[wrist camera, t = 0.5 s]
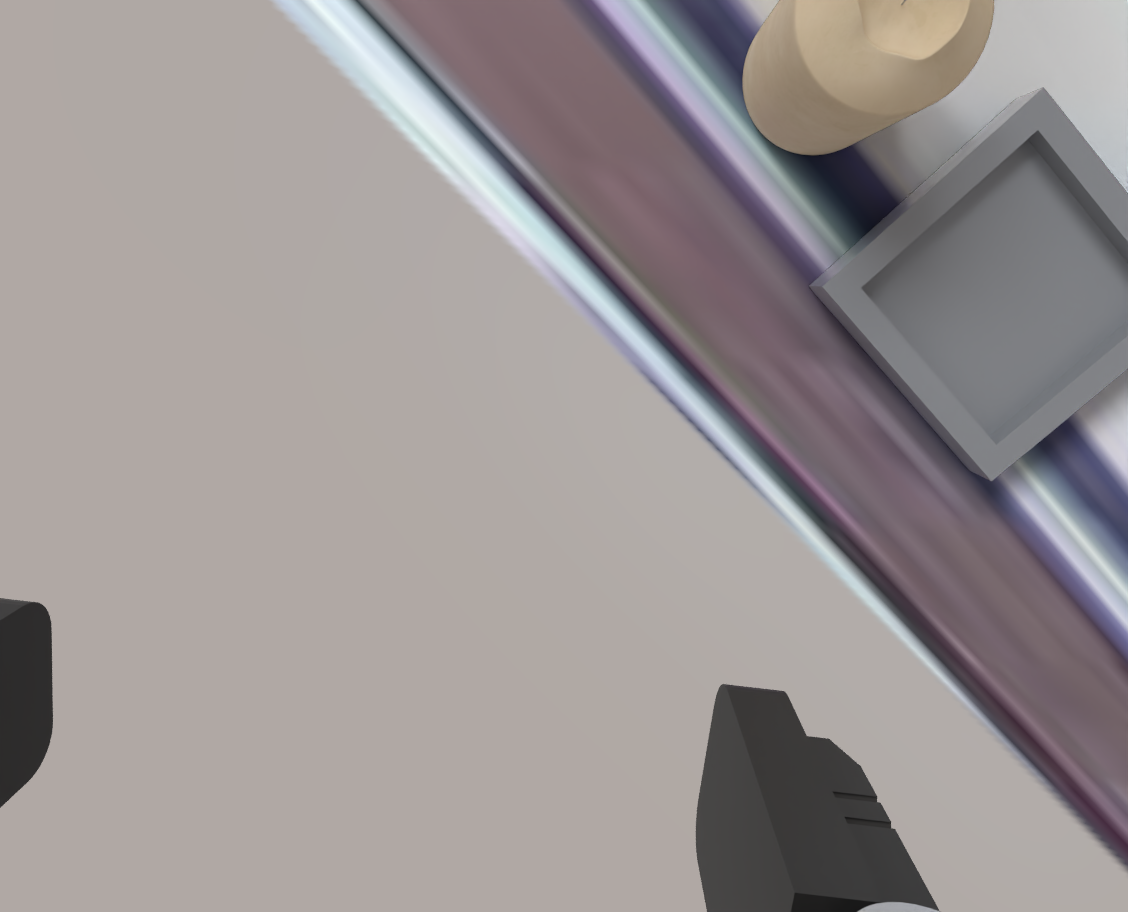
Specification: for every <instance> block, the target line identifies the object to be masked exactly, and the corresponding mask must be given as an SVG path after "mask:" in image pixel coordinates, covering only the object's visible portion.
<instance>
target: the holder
mask: <svg viewBox="0 0 1128 912" xmlns="http://www.w3.org/2000/svg"><path fill="white" fill-rule="evenodd" d="M809 287H810V288H811V290H812V291H813V292H814V293H815V294H816V295H817V296H818V298H819V299H820V300H821V301H822V302H823V303H824V305H825V306H826V307H827V308H828V309H829V310H830V311H831V313H832V314H833V315H834V316H835V317H836V318H837V319H838V321H839V322H840V323H841V324H842V325H843V326H844V327H845V329H846V330H847V331H848V332H849V333H850V334H851V335H852V337H853V338H854V339H855V340H856V341H857V342H858V343H859V345H860V346H861V347H862V348H863V349H864V350H865V351H866V353H867V354H868V355H869V356H870V357H871V358H872V360H873V361H874V362H875V363H876V364H877V365H878V366H879V368H880V369H881V370H882V371H883V372H884V373H885V374H886V376H887V377H888V378H889V379H890V380H891V381H892V382H893V384H894V385H895V386H896V387H897V388H898V389H899V390H900V392H901V393H902V394H903V395H904V396H905V397H906V398H907V400H908V401H909V402H910V403H911V404H912V405H913V407H914V408H915V409H916V410H917V411H918V412H919V413H920V415H921V416H922V417H923V418H924V419H925V420H926V421H927V423H928V424H929V425H930V426H931V427H932V428H933V429H934V431H935V432H936V433H937V434H938V435H939V436H940V437H941V439H942V440H943V441H944V442H945V443H946V444H947V445H948V447H949V448H950V449H951V450H952V451H953V452H954V453H955V455H956V456H957V457H958V458H959V459H960V460H961V462H962V463H963V464H964V465H965V466H966V467H967V468H968V470H970V471H972V472H974V473H976V474H978V475H980V476H982V477H984V478H986V479H988V480H990V481H993V480H994V479H995V478H996V477H998V476H999V475H1000V474H1001V473H1002V472H1004V471H1005V470H1006V469H1007V468H1008V467H1010V466H1011V465H1012V464H1013V463H1014V462H1016V461H1017V460H1018V459H1019V458H1020V457H1022V456H1023V455H1024V454H1025V453H1027V452H1028V451H1029V450H1030V449H1031V448H1033V447H1034V446H1035V445H1036V444H1037V443H1039V442H1040V441H1041V440H1042V439H1043V438H1045V437H1046V436H1047V435H1048V434H1050V433H1051V432H1052V431H1053V430H1054V429H1056V428H1057V427H1058V426H1059V425H1060V424H1062V423H1063V422H1064V421H1065V420H1066V419H1068V418H1069V417H1070V416H1071V415H1073V414H1074V413H1075V412H1076V411H1077V410H1079V409H1080V408H1081V407H1082V406H1083V405H1085V404H1086V403H1087V402H1088V401H1089V400H1091V399H1092V398H1093V397H1094V396H1096V395H1097V394H1098V393H1099V392H1100V391H1102V390H1103V389H1104V388H1105V387H1106V386H1108V385H1109V384H1110V383H1111V382H1112V381H1114V380H1115V379H1116V378H1117V377H1119V376H1120V375H1121V374H1122V373H1123V372H1125V371H1126V370H1127V369H1128V193H1127V192H1126V190H1125V189H1124V188H1123V187H1122V185H1121V184H1120V183H1119V182H1118V180H1117V179H1116V178H1115V177H1114V175H1113V174H1112V173H1111V172H1110V170H1109V169H1108V168H1107V167H1106V165H1105V164H1104V163H1103V161H1102V160H1101V159H1100V158H1099V156H1098V155H1097V154H1096V153H1095V151H1094V150H1093V149H1092V148H1091V146H1090V145H1089V144H1088V143H1087V141H1086V140H1085V139H1084V138H1083V136H1082V135H1081V134H1080V133H1079V131H1078V130H1077V129H1076V128H1075V126H1074V125H1073V124H1072V122H1071V121H1070V120H1069V119H1068V117H1067V116H1066V115H1065V114H1064V112H1063V111H1062V110H1061V109H1060V107H1059V106H1058V105H1057V104H1056V102H1055V101H1054V100H1053V99H1052V97H1051V96H1050V95H1049V94H1048V92H1047V91H1046V90H1045V89H1044V87H1043V88H1041V89H1038V90H1036V91H1033V92H1031V93H1029V94H1026V95H1024V96H1021V97H1019V98H1017V99H1015V100H1014V101H1013V102H1012V103H1011V104H1010V105H1009V106H1007V107H1006V108H1005V109H1004V110H1003V111H1002V112H1001V113H1000V114H999V115H997V116H996V117H995V118H994V119H993V120H992V121H991V122H990V123H989V124H987V125H986V126H985V127H984V128H983V129H982V130H981V131H980V132H979V133H978V134H976V135H975V136H974V137H973V138H972V139H971V140H970V141H969V142H968V143H966V144H965V145H964V146H963V147H962V148H961V149H960V150H959V151H958V152H956V153H955V154H954V155H953V156H952V157H951V158H950V159H949V160H948V161H947V162H945V163H944V164H943V165H942V166H941V167H940V168H939V169H938V170H937V171H935V172H934V173H933V174H932V175H931V176H930V177H929V178H928V179H927V180H926V181H924V182H923V183H922V184H921V185H920V186H919V187H918V188H917V189H916V190H914V191H913V192H912V193H911V194H910V195H909V196H908V197H907V198H906V199H904V200H903V201H902V202H901V203H900V204H899V205H898V206H897V207H896V208H895V209H893V210H892V211H891V212H890V213H889V214H888V215H887V216H886V217H885V218H883V219H882V220H881V221H880V222H879V223H878V224H877V225H876V226H875V227H874V228H872V229H871V230H870V231H869V232H868V233H867V234H866V235H865V236H864V237H862V238H861V239H860V240H859V241H858V242H857V243H856V244H855V245H854V246H852V247H851V248H850V249H849V250H848V251H847V252H846V253H845V254H844V255H843V256H841V257H840V258H839V259H838V260H837V261H836V262H835V263H834V264H833V265H831V266H830V267H829V268H828V269H827V270H826V271H825V272H824V273H823V274H821V275H820V276H819V277H818V278H817V279H816V280H815V281H814V282H813V283H812V284H810V285H809Z"/></svg>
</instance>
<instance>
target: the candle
mask: <svg viewBox="0 0 1128 912" xmlns="http://www.w3.org/2000/svg"><path fill="white" fill-rule="evenodd" d="M993 13H994V0H779V2H778V3H777V5H776V6H775V8H774V9H773V10H772V12H771V13H770V15H769V16H768V18H767V19H766V20H765V22H764V23H763V25H762V26H761V28H760V29H759V31H758V33H757V34H756V36H755V37H754V39H753V41H752V43H751V45H750V47H749V50H748V53H747V56H746V59H745V64H744V69H743V95H744V100H745V104H746V107H747V110H748V113H749V115H750V117H751V119H752V121H753V122H754V124H755V126H756V127H757V128H758V130H759V131H760V132H761V133H762V134H763V135H764V136H765V137H766V138H767V139H768V140H769V141H771V142H772V143H774V144H775V145H776V146H778V147H780V148H782V149H784V150H787V151H790V152H793V153H797V154H802V155H824V154H828V153H833V152H836V151H838V150H841V149H844V148H846V147H848V146H850V145H852V144H854V143H856V142H858V141H860V140H862V139H864V138H866V137H868V136H870V135H872V134H874V133H876V132H878V131H880V130H882V129H884V128H886V127H888V126H890V125H892V124H894V123H896V122H898V121H900V120H902V119H904V118H906V117H908V116H910V115H912V114H914V113H916V112H918V111H920V110H922V109H924V108H926V107H928V106H930V105H932V104H934V103H936V102H938V101H939V100H941V99H942V98H943V97H945V96H946V95H948V94H949V93H950V92H951V91H953V90H954V89H955V88H956V87H957V86H958V85H959V84H960V83H961V82H962V81H963V80H964V79H965V78H966V76H967V75H968V74H969V73H970V71H971V70H972V68H973V67H974V66H975V64H976V63H977V61H978V59H979V57H980V55H981V54H982V52H983V50H984V47H985V44H986V42H987V39H988V37H989V33H990V29H991V25H992V20H993Z"/></svg>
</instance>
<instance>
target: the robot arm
mask: <svg viewBox="0 0 1128 912" xmlns="http://www.w3.org/2000/svg"><path fill="white" fill-rule="evenodd" d="M51 636H52V633H51V620H50V616H49V614H48V611H47V609H46V608H45V607H44V606H43V605H42V604H40V603H36V602H28V601H20V600H11V599H3V598H0V807H1V806H2V805H4V804H5V802H7V801H8V800H9V799H10V798H11V797H12V796H13V795H14V794H15V793H16V792H17V791H18V790H20V789H21V788H22V787H23V786H24V785H25V784H26V783H27V782H28V781H29V780H30V779H31V778H32V777H33V775H34V774H35V773H36V771H37V770H38V768H39V767H40V765H41V763H42V761H43V759H44V757H45V754H46V752H47V749H48V746H49V743H50V739H51V735H52V728H53V707H52V706H53V704H52V703H53V702H52V637H51ZM696 851H697V860H698V865H699V871H700V876H701V880H702V887H703V892H704V897H705V902H706V908H707V912H940V911H939V909H938V907H937V906H936V904H935V902H934V900H933V898H932V896H931V894H930V893H929V891H928V889H927V887H926V885H925V884H924V882H923V880H922V878H921V876H920V874H919V872H918V871H917V869H916V867H915V865H914V863H913V862H912V860H911V858H910V856H909V854H908V852H907V851H906V849H905V847H904V845H903V843H902V841H901V839H900V838H899V836H898V834H897V832H896V830H895V829H891V821H890V819H889V817H888V816H887V814H886V812H885V810H884V808H883V806H882V805H881V803H878V802H877V796H876V794H875V792H874V790H873V788H872V786H871V784H870V783H869V781H868V779H867V777H866V775H865V773H864V772H863V770H862V768H861V766H860V765H858V764H857V763H856V762H855V761H854V760H853V759H851V758H850V757H849V756H848V755H847V754H846V753H845V752H843V751H842V750H841V749H840V748H839V747H838V746H837V745H835V744H834V743H833V742H832V741H831V740H830V739H825V738H817V737H808V736H806V734H805V731H804V729H803V727H802V725H801V723H800V721H799V719H798V717H797V714H796V712H795V710H794V708H793V706H792V704H791V702H790V700H789V697H788V696H787V694H786V693H785V692H784V691H777V690H769V689H760V688H752V687H743V686H734V685H726V684H722V685H721V686H720V687H719V690H718V692H717V695H716V699H715V705H714V710H713V716H712V722H711V728H710V733H709V740H708V746H707V751H706V758H705V763H704V770H703V775H702V781H701V787H700V793H699V799H698V807H697V818H696Z"/></svg>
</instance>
